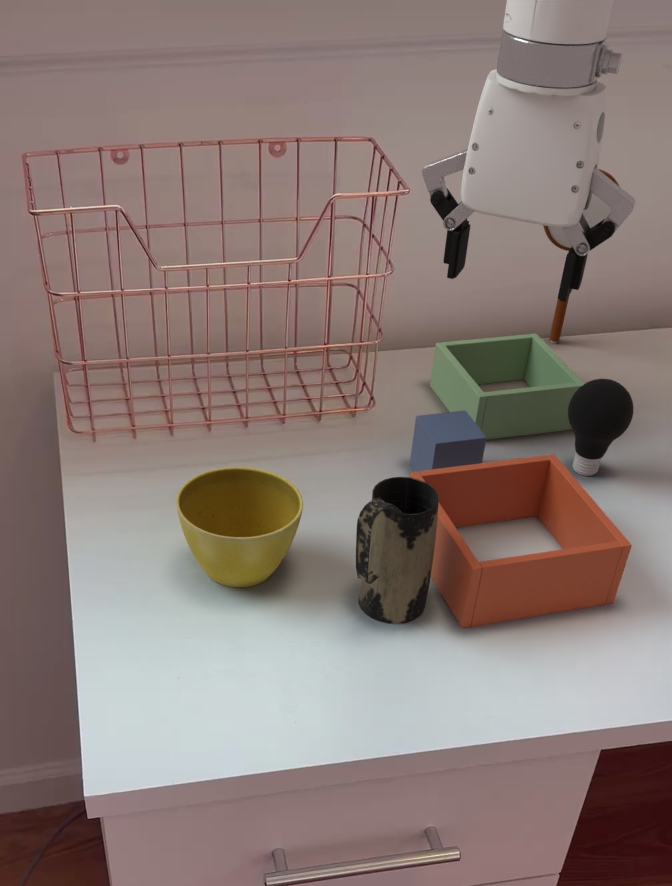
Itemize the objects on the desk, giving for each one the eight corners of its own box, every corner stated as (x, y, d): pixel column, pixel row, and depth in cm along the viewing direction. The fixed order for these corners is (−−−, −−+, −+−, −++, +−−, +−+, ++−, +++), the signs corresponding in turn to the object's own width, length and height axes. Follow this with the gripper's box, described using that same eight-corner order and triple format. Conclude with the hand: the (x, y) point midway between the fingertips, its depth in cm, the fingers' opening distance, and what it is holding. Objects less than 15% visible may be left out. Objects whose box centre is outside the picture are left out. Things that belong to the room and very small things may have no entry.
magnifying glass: (585, 343, 122) (628, 165, 108) (590, 350, 120) (634, 171, 107) (514, 344, 120) (549, 165, 107) (518, 351, 119) (554, 171, 106)
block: (456, 464, 100) (465, 410, 96) (476, 493, 97) (487, 437, 93) (408, 470, 99) (415, 415, 95) (427, 499, 96) (435, 443, 92)
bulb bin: (526, 380, 114) (536, 333, 110) (574, 434, 106) (587, 385, 102) (428, 390, 111) (435, 342, 107) (471, 447, 103) (479, 396, 99)
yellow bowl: (279, 527, 91) (281, 458, 87) (315, 598, 84) (320, 527, 80) (167, 545, 89) (163, 475, 84) (195, 619, 82) (193, 547, 77)
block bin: (539, 515, 95) (554, 453, 90) (611, 608, 85) (632, 545, 81) (401, 535, 91) (409, 471, 87) (460, 634, 82) (473, 569, 77)
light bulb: (620, 470, 101) (647, 377, 94) (604, 499, 97) (631, 405, 91) (563, 453, 103) (585, 361, 96) (545, 481, 99) (567, 387, 92)
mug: (385, 576, 87) (400, 454, 79) (439, 606, 84) (460, 482, 76) (325, 621, 82) (335, 497, 74) (380, 654, 80) (396, 528, 72)
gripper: (673, 66, 77) (617, 287, 89) (451, 35, 81) (426, 250, 93) (658, 90, 72) (601, 322, 83) (423, 55, 76) (400, 280, 88)
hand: (509, 284), depth 88 cm, fingers open, 9 cm apart
